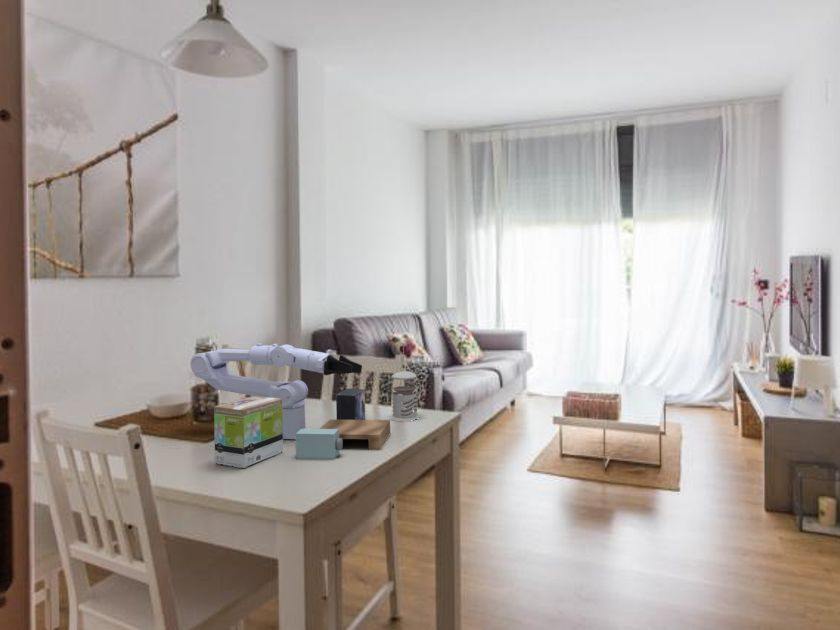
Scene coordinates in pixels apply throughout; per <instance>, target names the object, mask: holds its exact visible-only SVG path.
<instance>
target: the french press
mask: <svg viewBox="0 0 840 630" xmlns="http://www.w3.org/2000/svg"><path fill="white" fill-rule="evenodd" d="M406 345H407V342H406V341H405V340H402V341H401V342H400V346H402V351H403V352H402V353H403V355H402V356H403V362H405V346H406ZM417 377H418V375H417V374H416V373H414V372H412V371H409V370H405V369H403V370H402V371H397V372H395V373H394V374H393V375H391V378H392V379H393V380H394V379H395V380H403V385H402V386H395V387H394V388H393V392H392V393H391V394H392V415H391V416H390V418H391V419H390V421H393V420H394V421H393V422H399V421H407V422H412V421H411V420H415V419H418V418H419V417H420V416H419V415H418V408H417V407H418V403H417V401H418V400H419V398H420V396H421V393H422V386H421V382H420V380H419V379H418V378H417ZM406 380H410V383H411V384H416V387H415V386H407V385H406V386H405V384H406V382H405V381H406ZM412 380H413V381H412ZM417 382H418V383H417ZM418 384H419V387H420V388H419V387H418ZM418 388H419V389H420V391H419V395H418V390H419V389H418ZM415 390H416V391H415ZM417 396H418V397H417ZM403 403H404V404H403ZM418 420H419V419H418ZM415 421H416V420H415Z"/></svg>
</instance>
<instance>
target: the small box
mask: <svg viewBox="0 0 840 630" xmlns="http://www.w3.org/2000/svg"><path fill="white" fill-rule="evenodd" d="M365 390H366V389H362V388H348V387H347V388H346V389H344V390H342V391H340V392H339V393H336V394H335V400H336V401H335V402H336V407H335V409H336V420H366V399H365V398H366V397H365V396H366V392H365Z"/></svg>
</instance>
